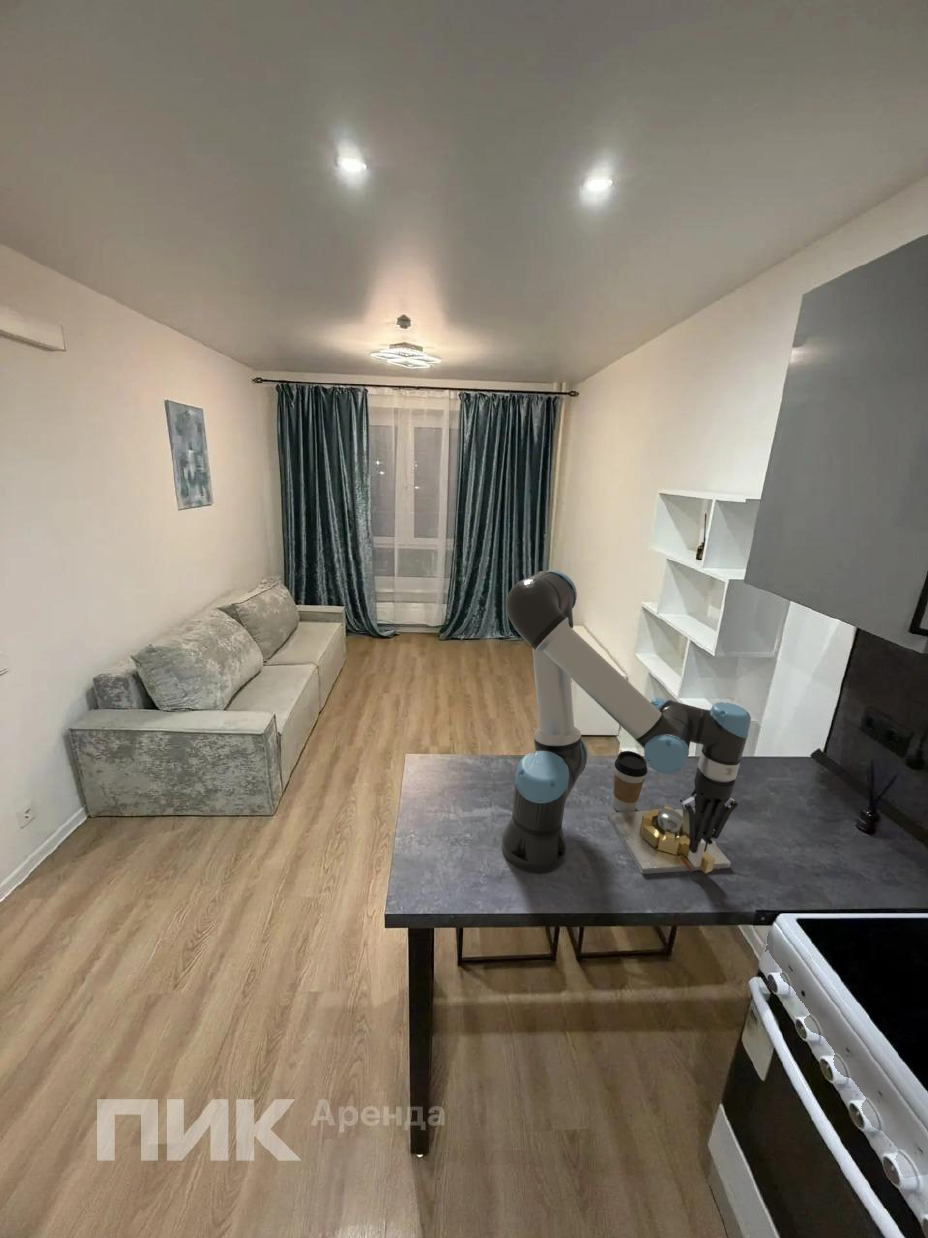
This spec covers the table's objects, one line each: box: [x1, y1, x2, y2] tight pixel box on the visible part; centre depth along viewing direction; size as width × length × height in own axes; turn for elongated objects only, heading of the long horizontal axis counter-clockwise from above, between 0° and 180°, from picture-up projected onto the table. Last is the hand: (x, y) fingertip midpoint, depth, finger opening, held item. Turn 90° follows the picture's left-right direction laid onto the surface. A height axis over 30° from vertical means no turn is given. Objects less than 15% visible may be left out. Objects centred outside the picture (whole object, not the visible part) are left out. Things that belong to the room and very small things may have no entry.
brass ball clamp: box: [641, 805, 715, 874], centre depth 120 cm, size 18×12×4 cm, turn 25°
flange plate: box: [607, 808, 732, 875], centre depth 123 cm, size 22×21×8 cm
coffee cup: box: [612, 750, 648, 812], centre depth 134 cm, size 8×8×15 cm
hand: (693, 862), depth 114 cm, fingers closed
